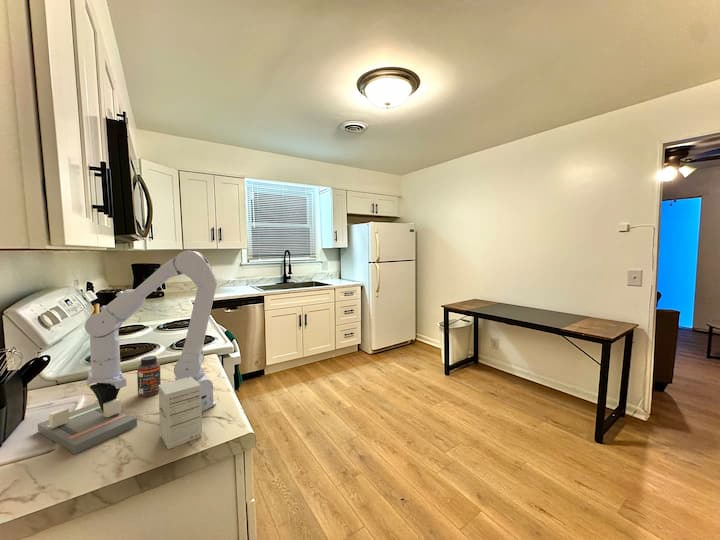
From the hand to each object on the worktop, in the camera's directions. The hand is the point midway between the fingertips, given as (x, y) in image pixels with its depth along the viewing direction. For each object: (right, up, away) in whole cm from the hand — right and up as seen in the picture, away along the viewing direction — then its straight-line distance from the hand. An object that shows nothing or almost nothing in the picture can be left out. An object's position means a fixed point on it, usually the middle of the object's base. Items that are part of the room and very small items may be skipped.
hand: (108, 409), depth 77 cm
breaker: (-7, -1, -5) cm, 9 cm away
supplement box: (+23, -3, -7) cm, 24 cm away
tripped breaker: (+2, -1, -1) cm, 2 cm away
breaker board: (-2, -3, -3) cm, 5 cm away
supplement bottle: (0, -3, +16) cm, 16 cm away
